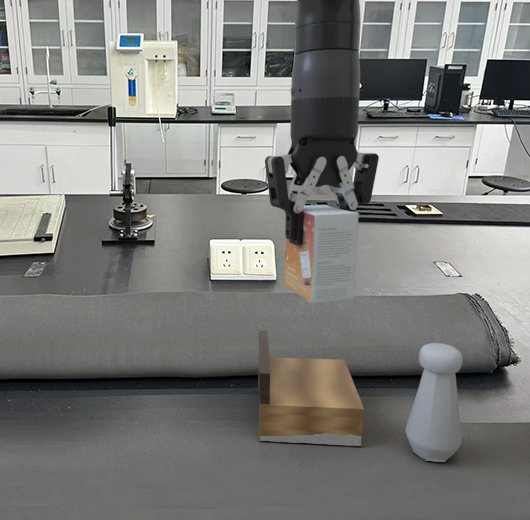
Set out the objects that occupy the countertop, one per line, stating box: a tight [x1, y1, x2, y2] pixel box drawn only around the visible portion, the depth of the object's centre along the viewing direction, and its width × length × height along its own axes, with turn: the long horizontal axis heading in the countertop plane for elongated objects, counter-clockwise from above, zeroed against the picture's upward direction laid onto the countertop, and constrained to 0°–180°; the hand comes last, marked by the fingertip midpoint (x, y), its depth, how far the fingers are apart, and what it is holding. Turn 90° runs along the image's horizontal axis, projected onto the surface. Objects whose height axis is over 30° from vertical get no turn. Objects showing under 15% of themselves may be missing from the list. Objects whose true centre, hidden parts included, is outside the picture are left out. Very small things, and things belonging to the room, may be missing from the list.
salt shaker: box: [405, 342, 464, 460], centre depth 60 cm, size 6×6×13 cm
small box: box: [284, 204, 360, 305], centre depth 64 cm, size 8×6×10 cm
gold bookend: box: [257, 330, 365, 437], centre depth 69 cm, size 12×14×9 cm
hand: (319, 241), depth 64 cm, fingers closed on small box, 5 cm apart
